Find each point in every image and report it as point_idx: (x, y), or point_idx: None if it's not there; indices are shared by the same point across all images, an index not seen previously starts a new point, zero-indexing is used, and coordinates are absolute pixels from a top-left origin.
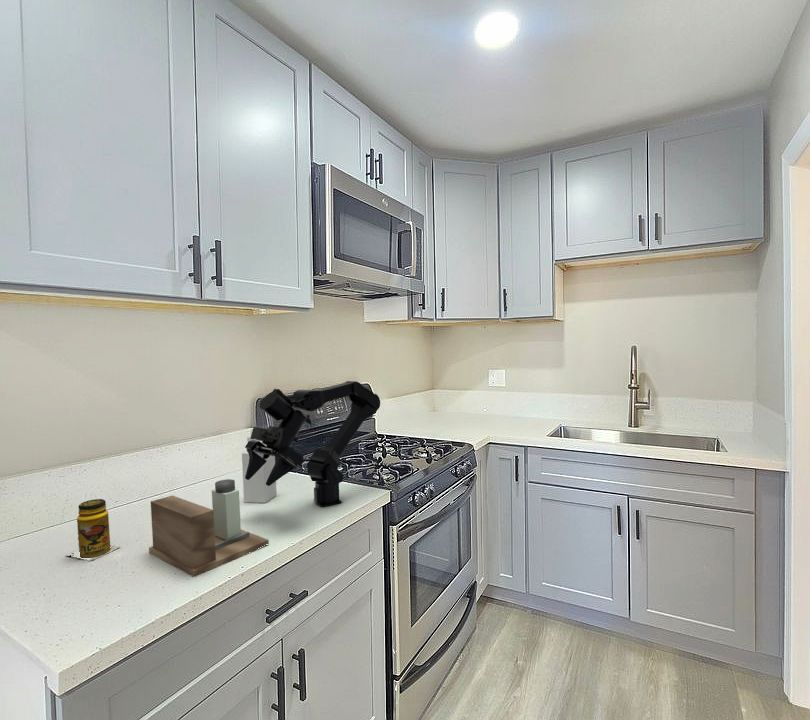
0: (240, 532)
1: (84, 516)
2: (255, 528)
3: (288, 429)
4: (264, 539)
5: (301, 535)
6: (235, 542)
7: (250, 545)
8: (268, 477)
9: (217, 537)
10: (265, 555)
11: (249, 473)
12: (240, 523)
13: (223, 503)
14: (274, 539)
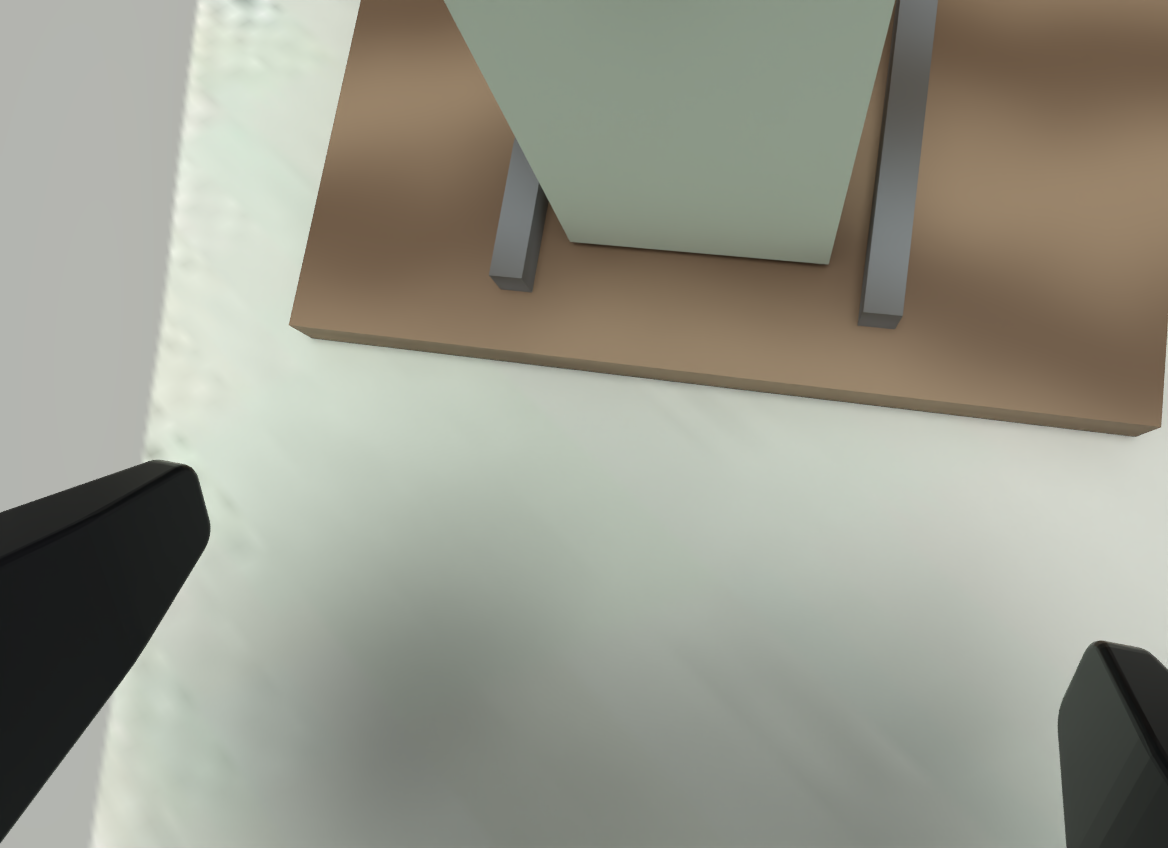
0: (564, 223)
1: None
2: (712, 562)
3: None
4: (325, 310)
5: (170, 620)
6: None
7: (353, 168)
8: (49, 528)
9: None
10: (212, 192)
11: (1134, 808)
12: (541, 186)
13: None
14: (341, 443)
